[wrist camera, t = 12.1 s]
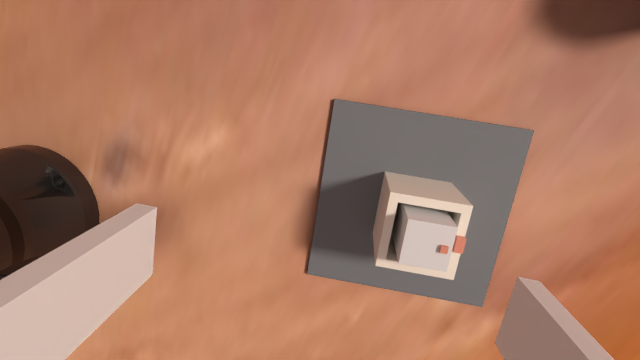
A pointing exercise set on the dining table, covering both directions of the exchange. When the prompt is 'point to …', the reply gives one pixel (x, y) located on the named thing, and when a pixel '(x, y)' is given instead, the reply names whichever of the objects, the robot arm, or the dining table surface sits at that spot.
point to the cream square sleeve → (424, 195)
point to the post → (410, 220)
